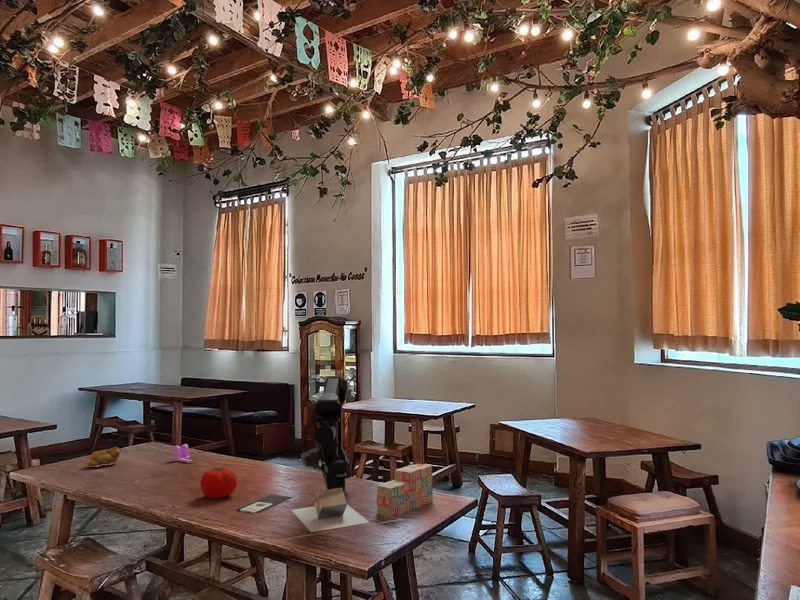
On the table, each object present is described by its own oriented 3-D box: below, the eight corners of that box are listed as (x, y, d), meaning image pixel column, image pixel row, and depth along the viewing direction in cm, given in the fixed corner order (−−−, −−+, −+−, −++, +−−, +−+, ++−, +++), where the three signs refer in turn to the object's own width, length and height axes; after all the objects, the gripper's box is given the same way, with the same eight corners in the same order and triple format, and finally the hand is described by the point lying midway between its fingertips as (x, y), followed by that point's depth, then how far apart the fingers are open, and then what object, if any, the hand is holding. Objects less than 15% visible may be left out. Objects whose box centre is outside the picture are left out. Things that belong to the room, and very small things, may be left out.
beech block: (317, 490, 176) (321, 508, 172) (342, 487, 179) (347, 504, 175) (313, 501, 180) (317, 519, 176) (338, 498, 183) (342, 515, 179)
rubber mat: (291, 511, 185) (291, 509, 185) (344, 503, 193) (344, 501, 193) (311, 533, 164) (311, 532, 164) (369, 523, 172) (369, 522, 172)
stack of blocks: (391, 519, 176) (391, 478, 177) (376, 515, 180) (375, 475, 181) (433, 502, 192) (432, 465, 193) (418, 498, 196) (417, 462, 197)
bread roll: (91, 470, 246) (92, 451, 246) (81, 467, 252) (82, 448, 252) (122, 464, 256) (122, 446, 256) (111, 461, 262) (111, 443, 262)
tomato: (205, 492, 208) (205, 464, 209) (240, 492, 208) (240, 463, 209) (194, 502, 197) (194, 471, 197) (231, 501, 197) (231, 470, 198)
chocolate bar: (292, 497, 199) (259, 512, 183) (292, 499, 199) (259, 515, 183) (271, 494, 203) (236, 509, 187) (271, 497, 203) (236, 512, 187)
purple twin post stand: (172, 461, 261) (172, 445, 261) (183, 458, 266) (183, 443, 266) (191, 464, 254) (191, 448, 254) (201, 461, 258) (201, 446, 259)
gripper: (295, 436, 184) (295, 486, 183) (311, 446, 167) (312, 501, 167) (328, 433, 189) (329, 482, 188) (347, 443, 172) (348, 496, 171)
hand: (328, 490), depth 178 cm, fingers closed
